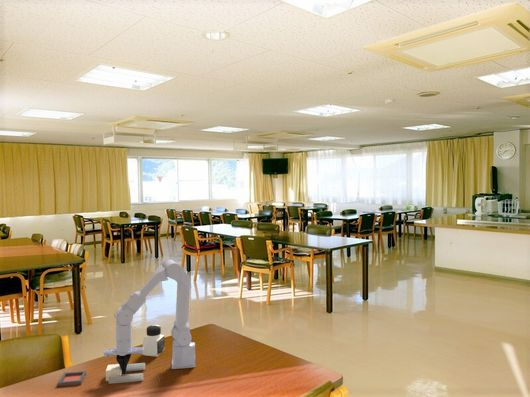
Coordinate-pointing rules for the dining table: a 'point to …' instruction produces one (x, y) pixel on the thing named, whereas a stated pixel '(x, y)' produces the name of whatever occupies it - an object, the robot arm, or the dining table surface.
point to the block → (112, 371)
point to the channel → (129, 376)
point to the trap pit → (72, 378)
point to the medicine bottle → (153, 341)
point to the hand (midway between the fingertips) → (124, 372)
